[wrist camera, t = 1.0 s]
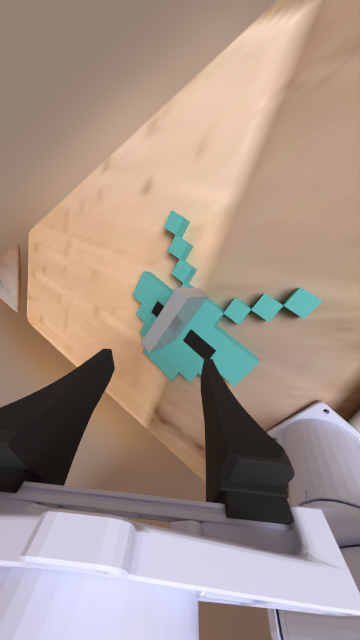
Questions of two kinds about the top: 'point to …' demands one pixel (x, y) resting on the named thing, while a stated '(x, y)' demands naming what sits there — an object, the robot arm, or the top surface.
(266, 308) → the alien figure
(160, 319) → the tile
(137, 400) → the top surface
